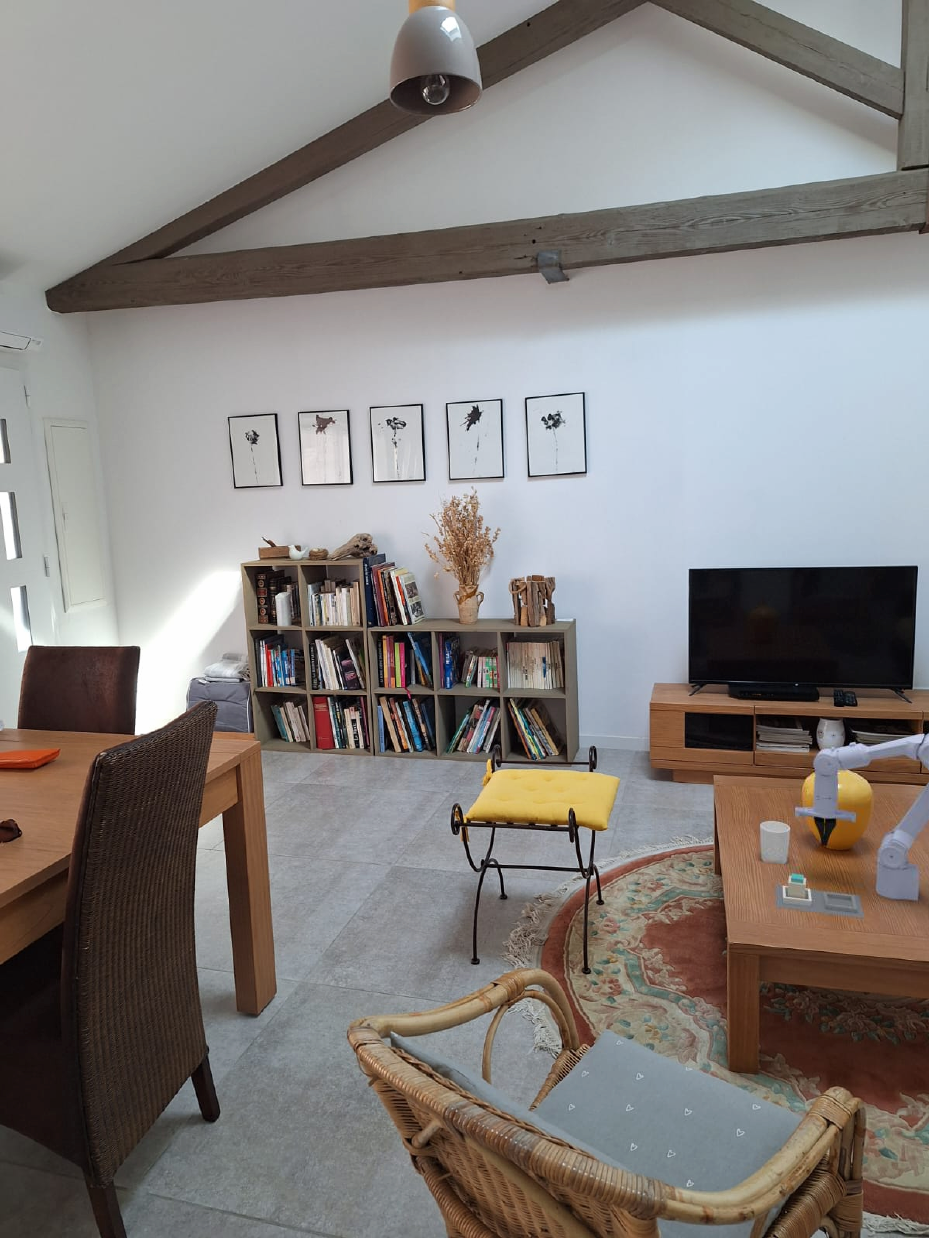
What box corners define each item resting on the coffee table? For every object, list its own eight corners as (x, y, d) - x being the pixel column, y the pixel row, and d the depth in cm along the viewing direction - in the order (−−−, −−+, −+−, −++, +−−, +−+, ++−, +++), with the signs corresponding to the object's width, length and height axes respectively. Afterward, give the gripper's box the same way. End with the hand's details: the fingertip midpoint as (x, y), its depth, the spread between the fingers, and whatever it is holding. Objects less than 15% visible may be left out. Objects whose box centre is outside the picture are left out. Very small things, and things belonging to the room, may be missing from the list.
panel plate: (858, 899, 214) (859, 895, 214) (864, 922, 203) (864, 918, 203) (775, 889, 221) (775, 885, 221) (775, 911, 210) (776, 907, 209)
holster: (854, 899, 212) (854, 895, 212) (857, 912, 206) (857, 908, 205) (823, 895, 215) (823, 891, 214) (825, 908, 208) (825, 905, 208)
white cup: (787, 855, 240) (788, 822, 239) (790, 867, 233) (791, 833, 231) (758, 853, 242) (759, 820, 241) (760, 864, 235) (761, 830, 233)
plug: (805, 896, 214) (806, 874, 213) (804, 903, 211) (805, 881, 210) (788, 893, 216) (789, 871, 215) (787, 900, 212) (788, 878, 211)
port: (810, 894, 215) (810, 888, 215) (811, 906, 209) (811, 900, 209) (782, 891, 217) (782, 885, 217) (783, 903, 211) (783, 897, 211)
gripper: (854, 792, 222) (852, 841, 224) (795, 787, 227) (793, 835, 229) (857, 801, 215) (855, 851, 217) (796, 796, 220) (795, 845, 222)
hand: (823, 844), depth 223 cm, fingers closed
